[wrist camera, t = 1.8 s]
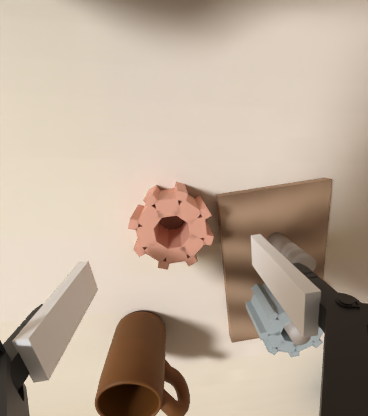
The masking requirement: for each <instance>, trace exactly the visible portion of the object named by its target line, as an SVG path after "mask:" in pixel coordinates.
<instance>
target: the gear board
mask: <svg viewBox="0 0 368 416" xmlns="http://www.w3.org/2000/svg"><path fill="white" fill-rule="evenodd" d="M331 187H332V179H328V178H320V179H314V180H307V181H301V182H294V183H288V184H281V185H275V186H268V187H262V188H255V189H249V190H242V191H236V192H229V193H223V194H216V195H217V206H218V216H219V227H220V238H221V248H222V259H223V270H224V280H225V291H226V302H227V312H228V323H229V334H230V338H231V341H232V342H238V341H244V340H250V339H256V338H260V337H259V335H258V333H257V331H256V329H255V326H254V324H253V322H252V320H251V318H250V316H249V313H248V311H247V309H246V302H248V301H251V300H252V297H253V295H254V293H253V291H252V289H251V288H252V287H253V286H254V285H255V284H256V283H257V284H258V285H260V286H261V285H263V284H265V283H264V281H263V280H262V278H261V277H260V275H259V274H258V273H257V271H256V270H255V268H254V267H253V266H252V252H251V235H256V234H261V235H262V236H263V237H264V238H265V239H266V240H267V241H268V242H269V243H270V244H271V245H272V246H273V247H275V248H276V249H277V250H278V251H279V252H280V253H281V254H282V255H283V256H284V257H285V258H286V259H287V260H288V261H290V262H291V263H301V264H303V265H305V266H307V267H308V268H309V269H311V270H312V271H313V273H315V274H316V275H318V277H320V278H321V279H322V280H323V273H324V262H325V252H326V241H327V230H328V219H329V208H330V198H331ZM284 329H285V331H286V332H287V334H288V335H289V337H290V339H291V340H292V342H293V343H294V344H295V345H304V344H306V343H307V342H308V341H309V340H310V338H311V336H310V337H304V338H303V336H302V335H301V334H300V332H299V331H298V329H297V328H296V326H295V325H294V324H293V322H292V321H291V322H289V323H287V324H285V326H284Z"/></svg>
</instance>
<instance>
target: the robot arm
mask: <svg viewBox="0 0 368 416" xmlns="http://www.w3.org/2000/svg"><path fill="white" fill-rule="evenodd" d="M251 252H252V266H253V267H254V268H255V270H256V271H257V273H258V274H259V275H260V277H261V278H262V280H263V281H264V283H265V284H266V285H267V287H268V288H269V290H270V291H271V292H272V294H273V295H274V297H275V298H276V300H277V301H278V302H279V304H280V305H281V307H282V308H283V309H284V311H285V312H286V314H287V315H288V317H289V318H290V319H291V321H292V322H293V324H294V325H295V326H296V328H297V329H298V331H299V332H300V334H301V335H302V336H303V338H304V337H310V336H316V335H318V328H319V327H320V328H321V329H322V331H323V332H324V333H325V337H324V348H323V349H324V351H323V367H322V382H321V397H320V413H319V416H368V304H365V303H361V302H360V301H359V300H357V299H356V298H354V297H352V296H350V295H347V294H344V293H338V292H336V291H335V290H334V289H333V288H332V287H331V286H329V285H328V284H327V283H326V282H325V281H323V280H322V279H321V278H320V277H318V275H316V274H315V273H313V271H312V270H311V269H309V268H308V267H307V266H305V265H303V264H301V263H291V262H290V261H288V260H287V259H286V258H285V257H284V256H283V255H282V254H281V253H280V252H279V251H278V250H277V249H276V248H275V247H273V246H272V245H271V244H270V243H269V242H268V241H267V240H266V239H265V238H264V237H263V236H262V235H261V234H256V235H251ZM97 290H98V289H97V286H96V282H95V279H94V276H93V273H92V270H91V267H90V264H89V261H85V262H79V263H78V264H77V265H76V266H75V268H74V269H73V270H72V271H71V272H70V274H69V275H68V276H67V277H66V278H65V279H64V281H63V282H62V283H61V284H60V285H59V287H58V288H57V289H56V290H55V291H54V292H53V294H52V295H51V296H50V297H49V298H48V299H47V301H46V302H45V303H44V304H41V305H40V306H38V307H37V308H36V309H35V310H33V311H32V312H31V313H30V314H29V316H28V317H27V318H26V320H24V321H23V322H22V324H21V325H20V326H19V327H18V328H17V329H16V330H15V332H14V333H13V334H12V335H11V336H10V337H9V338H8V339H7V341H6V342H5V343H4V344H3V345H2V343H1V341H0V416H29V408H28V399H27V390H26V386H25V384H24V381H25V380H26V378H27V377H28V375H30V377H31V379H32V380H33V382H39V381H45V380H49V379H50V377H51V375H52V373H53V371H54V369H55V368H56V366H57V364H58V362H59V360H60V358H61V357H62V355H63V353H64V351H65V349H66V347H67V345H68V344H69V342H70V340H71V338H72V336H73V334H74V333H75V331H76V329H77V327H78V325H79V323H80V322H81V320H82V318H83V316H84V314H85V312H86V311H87V309H88V307H89V305H90V303H91V301H92V299H93V298H94V296H95V294H96V292H97Z"/></svg>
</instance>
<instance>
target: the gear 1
mask: <svg viewBox="0 0 368 416" xmlns="http://www.w3.org/2000/svg"><path fill="white" fill-rule="evenodd" d="M144 202H145V203H146V205H145V206H142V205H138V206H137V208H136V210H135V211H134V213H133V215H132V216H131V218H130V222H129V227H128V229H133V230H136V232H137V237H138V239H137V241H136V244H135V246H134V250H135V252H136V253H137V254H138V256H139V257H140V256H142V255H144V254H145V253H146V254H147V255H149V256H151V257H152V258H154V259H156V260H157V261H159V262H158V268H162V269H168V266H169V263H176V262H182V261H186V263H187V264H188V266H190V265H192V264H194V263H196V262H197V257H196V253H197V252H198V251H199V250H200V248H201V247H202V246H203V245H204V244H206V245H211V244H212V241H213V238H214V235H213V233H212V231H211V229H210V227H209V225H208V223H207V221H206V220H205V219H207V218H208V217H210V216H212V215H211V213H210V212H209V210H208V208H207V207H206V205H205V203H204V201H203V200H202V198H201V196H198V197H196V198H195V199H194V198H193V197H192V196H190V195H189V194H188V192H187V189H186V186H185V184H182V183H178V182H176V184H175V188H173V189H166V190H160V189H159V188H158V186H157V185H156V186H154V187H153V188H151V189H149V191H148V193H147V194H146V196H145V198H144ZM176 215H177V216H178V217H179V218H181V219H182V220H184V221H185V222H184V224H183V225H182V226H181V227H180V228H178V229H172V230H168V229H166V228H165V227H163V226H162V225H160V224H159V221H160V220H161V218H163V217H170V216H176Z"/></svg>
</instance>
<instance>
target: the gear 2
mask: <svg viewBox="0 0 368 416" xmlns="http://www.w3.org/2000/svg"><path fill="white" fill-rule="evenodd" d="M251 289H252V291H253V293H254V295H253V297H252V300H251V301H248V302H246V309H247V311H248V313H249V316H250V318H251V320H252V322H253V324H254V326H255V329H256V331H257V333H258V335H259V337H260V339H261V340H263V342H264V344H265V346H266V348H267V350H268V352H270V353H272V354H273V355H275V354H276V353H277V352H278V351H281V352H288V353H289V355H290V356H291V357H295V356H299V351H302V350H304V349H306V348H308V347H310V346H314V347H316V348H317V347H318V346H319V345H320V344H322V343H323V342H322V341H321V340H320V337H321V335H322V334H323V331H322V329H321V328H320V327H319V328H318V335H316V336H311V338H310V340H309V341H308V342H307V343H306V344H304V345H295V344H294V343H293V342H292V340H291V339H290V337H289V335H288V334H287V332H286V331H285V329H284V326H285V324H287V323H289V322H291V319H290V318H289V317H288V315H287V314H286V312H285V311H284V309H283V308H282V307H281V305H280V304H279V302H278V301H277V300H276V298H275V297H274V295H273V294H272V292H271V291H270V290H269V288H268V287H267V285H266V284H263V285H261V286H260V285H258V284H257V283H256V284H255V285H254V286H253V287H252V288H251Z"/></svg>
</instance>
